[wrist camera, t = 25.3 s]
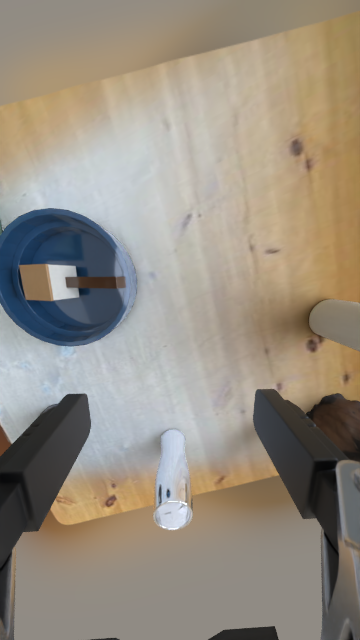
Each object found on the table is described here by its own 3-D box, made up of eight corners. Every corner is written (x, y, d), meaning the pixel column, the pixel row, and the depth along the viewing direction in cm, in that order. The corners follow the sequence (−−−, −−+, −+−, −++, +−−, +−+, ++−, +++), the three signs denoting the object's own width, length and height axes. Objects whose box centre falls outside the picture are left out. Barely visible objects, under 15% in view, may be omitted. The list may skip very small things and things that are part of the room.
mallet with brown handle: (124, 264, 30) (100, 261, 25) (127, 299, 31) (104, 303, 26) (51, 266, 35) (18, 264, 30) (55, 296, 36) (25, 299, 31)
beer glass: (192, 434, 45) (202, 509, 31) (177, 455, 47) (180, 536, 32) (167, 422, 44) (165, 494, 30) (153, 443, 46) (144, 522, 31)
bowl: (74, 353, 40) (56, 368, 33) (-2, 265, 35) (-40, 262, 29) (158, 297, 38) (156, 301, 31) (89, 195, 33) (69, 176, 27)
